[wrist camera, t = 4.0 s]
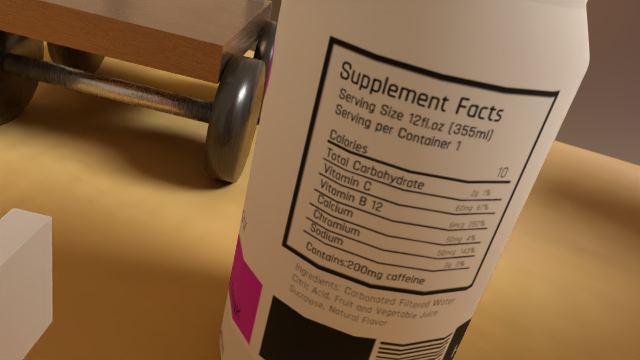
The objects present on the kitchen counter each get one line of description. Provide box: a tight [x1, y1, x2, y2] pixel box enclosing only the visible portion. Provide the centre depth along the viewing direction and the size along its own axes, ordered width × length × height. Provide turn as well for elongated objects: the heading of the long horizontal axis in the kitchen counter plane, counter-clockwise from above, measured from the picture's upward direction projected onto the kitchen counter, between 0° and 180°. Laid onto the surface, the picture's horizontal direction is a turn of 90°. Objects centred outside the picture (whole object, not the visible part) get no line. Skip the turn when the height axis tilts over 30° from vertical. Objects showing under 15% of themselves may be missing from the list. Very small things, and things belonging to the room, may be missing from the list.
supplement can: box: [219, 0, 590, 360], centre depth 18 cm, size 8×8×15 cm
